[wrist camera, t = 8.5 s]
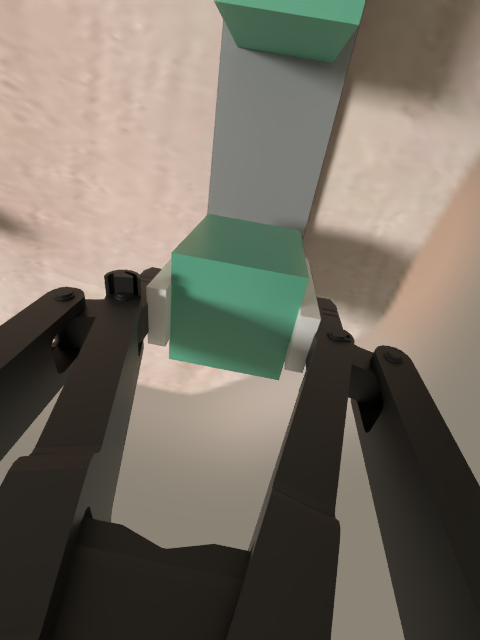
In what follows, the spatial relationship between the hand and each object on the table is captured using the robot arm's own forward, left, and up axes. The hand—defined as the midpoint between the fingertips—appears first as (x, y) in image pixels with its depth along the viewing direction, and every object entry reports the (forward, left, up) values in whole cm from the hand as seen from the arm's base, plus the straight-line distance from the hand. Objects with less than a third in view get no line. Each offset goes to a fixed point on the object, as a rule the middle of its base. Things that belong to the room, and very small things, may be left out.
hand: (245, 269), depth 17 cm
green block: (0, 0, -1) cm, 1 cm away
